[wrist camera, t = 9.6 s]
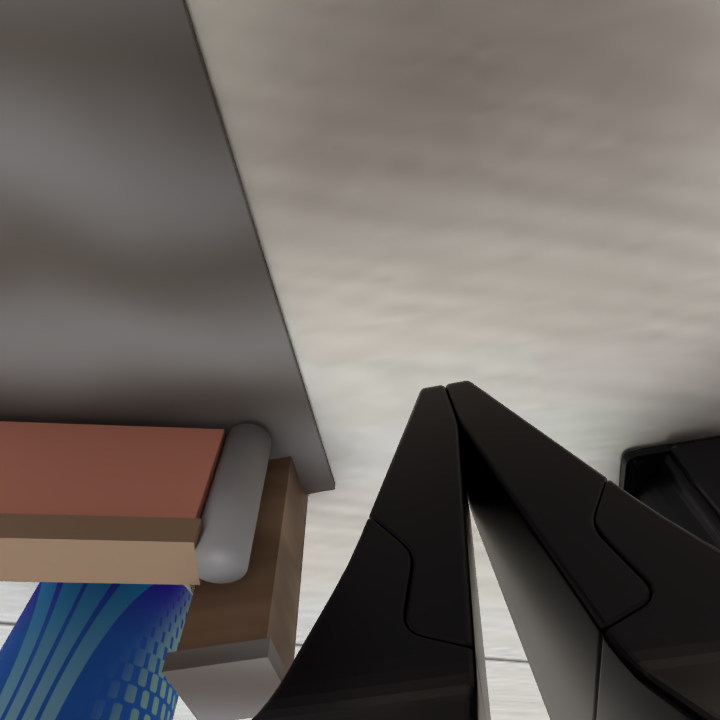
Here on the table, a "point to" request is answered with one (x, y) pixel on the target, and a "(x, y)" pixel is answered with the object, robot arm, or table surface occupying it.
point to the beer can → (93, 652)
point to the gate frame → (150, 296)
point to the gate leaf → (129, 502)
